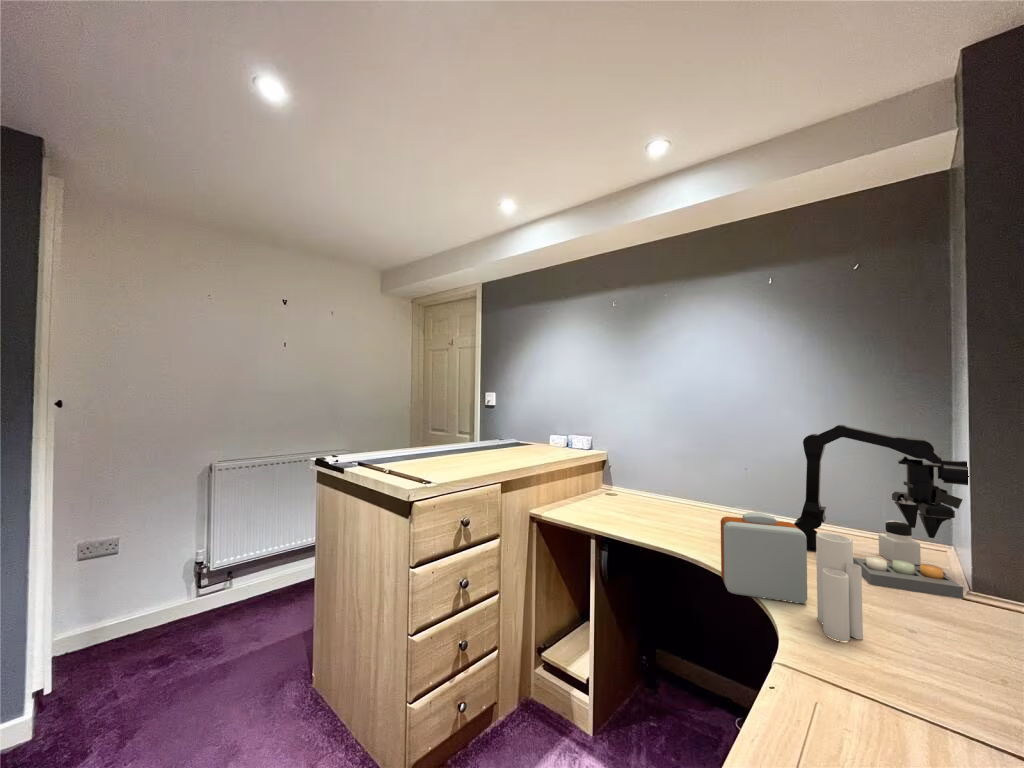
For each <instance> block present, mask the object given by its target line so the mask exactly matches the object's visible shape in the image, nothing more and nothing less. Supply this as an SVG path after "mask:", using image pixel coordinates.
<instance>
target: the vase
mask: <svg viewBox="0 0 1024 768" xmlns="http://www.w3.org/2000/svg"><path fill="white" fill-rule="evenodd" d="M853 544H854V543H853V539H851V538H850V537H847V536H844V535H841V534H837V533H831V532H817V534H816V551H815V553H816V597H817V598H816V599H817V601H816V602H817V603H816V604H817V611H816V612H817V621H818V620H819V621H820V622H821V623H823V625H822V627H823V628H822V629H823V630H822V631H824V632H823V634H824V633H825V634H826V635H827V636H829V637H831V638H833V639H836V640H839V641H849V640H850V639H851V637H850V636H852V637H854V638H857V639H863V640H864V625H863V621H864V620H863V618H864V617H863V584H862V583H863V582H862V580H863V576H862V570H861V566H859V565H856V564H853V558H854V545H853ZM819 621H818V622H819ZM820 622H819V623H820ZM821 623H820V624H821ZM825 634H824V635H825ZM826 635H825V636H826ZM827 636H826V637H827ZM850 641H851V640H850ZM850 641H849V642H850Z"/></svg>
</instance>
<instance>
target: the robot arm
mask: <svg viewBox="0 0 1024 768" xmlns="http://www.w3.org/2000/svg"><path fill="white" fill-rule="evenodd" d="M841 438H846V439H848V440H849V439H850V440H854V441H859V442H862V443H866V444H870V445H871V444H872V445H876V446H880V447H885V448H889V449H891V450H894V451H896V452H899V453H900V454H904V456H903V457H902V458H900V459H899V460H898V461H897V463H898V464H899V465H906V481H904V480H903V486H905V487H906V491H894V492H893V493H892V494H891V500H892V501H894V504H895V505H896V506H897V508H898V510H899V511H900V513H901V514H902V516H903V517H904V519H905V522H906V524H908V525H909V526H910V527H911V528H912V529H915V528H916V525H917V520H918V515H919V518H920V520H921V523H922V525H923V527H924V530H925V532H926V535H927V537H928V538H929V539H935V537H936V535H937V533H938V532H939V529H940V526H941V525H942V524H943V522H946V521H948V520H949V521H950V520H952V519H955V518H956V511H955V510H954V509H953V508H955V509H956V510H959V508H960V506H961V504H962V502H963V501H964V500H963V498H960V497H957V496H954V495H952V494H950V493H949V492H948V490H946V489H944V488H941V487H939V486H938V485H935V468H936V478H937V479H938V480H941V481H942V483H943V484H949V485H950V484H951V485H959V486H960V485H961V486H968V477H969V476H968V467H967V460H961V461H960V460H957V461H956V460H945V459H942V457H941V456H939V455H937V454H936V453H935V448H934V446H933V445H932V443H930V441H929V440H927V439H925V438H920V437H910V436H909V437H908V436H895V435H889V434H883V433H879V432H874V431H870V430H865V429H861V428H857V427H851V426H847V425H846V424H837V425H835V426H834V427H832V428H830V429H828V430H825V431H823V432H821V433H819V434H818V433H811V434H808V435H807V436H805V437H804V439H803V440H802V444H803V445H802V446H803V451H804V455H805V459H806V475H805V476H806V478H805V479H806V481H805V482H806V483H805V501H804V503H803V504H804V505H803V506H802V507H803V508H802V510H801V511H802V512H801V515H800V517H798V518H797V519H796V520H795V521H794V523H793V524H794V525H795V526H797V527H798V528H799V529H800V530H801V531H802V532H803V533H804V534H805V536H806V541H807V551H810V552H811V551H812V552H816V534H817V533H818V531H817V530H816V529H818V528H821V526H822V524H823V523H825V522H826V520H827V517H826V509H827V506H822V504H821V501H820V500H821V499H820V497H821V469H822V467H821V466H822V458H823V456H824V453H825V448H826V445H828V444H830V443H831V442H834V441H837V440H838V439H841ZM908 456H910V457H912V458H909V457H908ZM923 460H926V461H927V462H929V463H927V462H923Z"/></svg>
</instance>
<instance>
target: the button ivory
mask: <svg viewBox="0 0 1024 768" xmlns="http://www.w3.org/2000/svg"><path fill="white" fill-rule="evenodd" d="M865 559H866V567H867V568H868V569H871V570H878V571H885V572H887V562H888V561H886V560H885V559H883V558H879V557H876V556H866V557H865Z"/></svg>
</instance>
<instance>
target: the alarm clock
mask: <svg viewBox="0 0 1024 768" xmlns="http://www.w3.org/2000/svg"><path fill="white" fill-rule="evenodd" d="M807 551H808V550H807V541H806V536H805V534H804V533H803V532H802V531H801V530H800V529H799V528H798V527H797V526H795V525H794V523H792V522H789V521H779V520H777V519H776V518H775V517H774V516H771V515H769V514H766V513H763V512H757V511H756V512H755V511H753V512H747V513H743V514H742V517H737V516H736V517H735V516H729V515H728V516H724V517H722V518H721V519H720V566H721V567H720V571H721V572H720V575H721V578H722V581H723V583H724V585H725V588H726V589H727V592H729V593H731V594H733V595H734V594H735V595H740V596H746V597H754V598H760V599H762V598H761V597H765V598H764V599H766V598H770V599H769V600H772V599H779V600H786V601H792V602H798V603H797V604H799V603H803V604H806V603H807V601H808V554H807V553H808V552H807ZM779 600H778V601H779ZM792 602H791V603H792Z"/></svg>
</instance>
